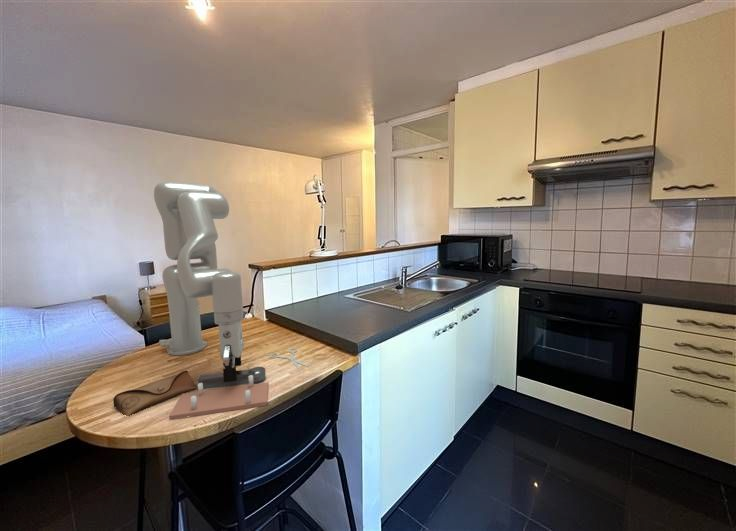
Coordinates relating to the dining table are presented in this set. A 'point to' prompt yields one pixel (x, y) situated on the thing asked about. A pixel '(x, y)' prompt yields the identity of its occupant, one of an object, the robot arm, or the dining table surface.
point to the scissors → (289, 358)
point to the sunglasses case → (153, 393)
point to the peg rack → (221, 399)
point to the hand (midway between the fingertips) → (233, 373)
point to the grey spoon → (242, 378)
